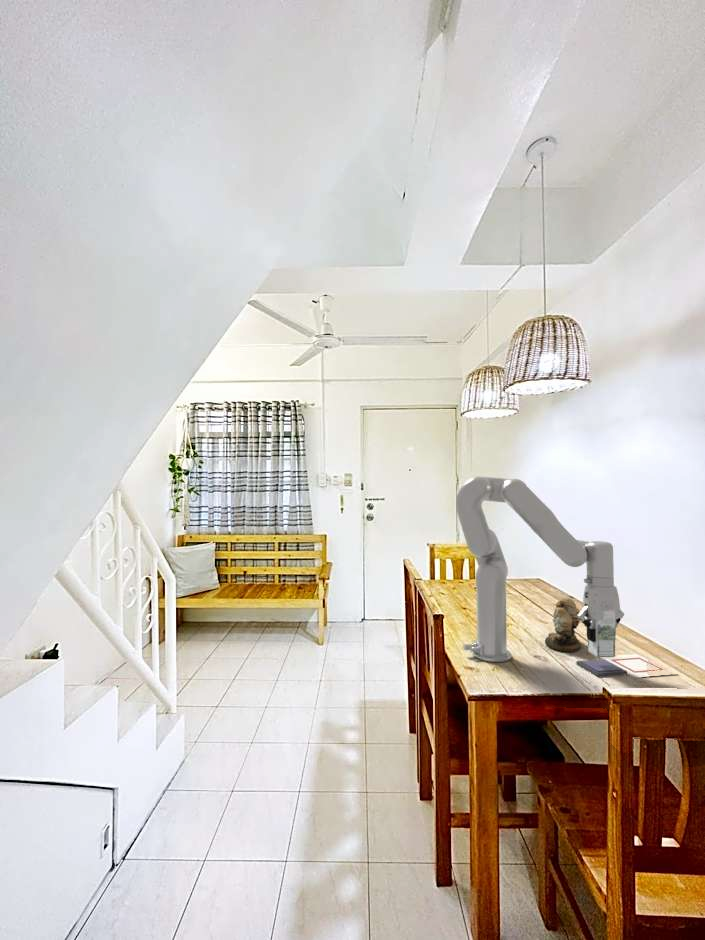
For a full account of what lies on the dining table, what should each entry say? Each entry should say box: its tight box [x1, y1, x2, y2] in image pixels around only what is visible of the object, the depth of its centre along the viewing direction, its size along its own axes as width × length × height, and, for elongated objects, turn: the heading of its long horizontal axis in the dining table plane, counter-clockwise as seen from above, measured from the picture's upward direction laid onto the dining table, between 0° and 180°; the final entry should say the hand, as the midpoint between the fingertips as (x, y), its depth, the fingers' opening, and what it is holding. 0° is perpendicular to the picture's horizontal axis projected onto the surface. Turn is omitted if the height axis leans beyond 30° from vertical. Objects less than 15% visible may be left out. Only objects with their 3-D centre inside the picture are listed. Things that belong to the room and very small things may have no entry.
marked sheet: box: [598, 653, 663, 679], centre depth 156 cm, size 14×17×1 cm
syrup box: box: [587, 610, 616, 658], centre depth 153 cm, size 6×6×14 cm
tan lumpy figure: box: [544, 596, 582, 654], centre depth 176 cm, size 18×12×17 cm, turn 158°
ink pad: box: [575, 658, 628, 677], centre depth 153 cm, size 10×10×1 cm
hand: (601, 639), depth 153 cm, fingers closed on syrup box, 6 cm apart
